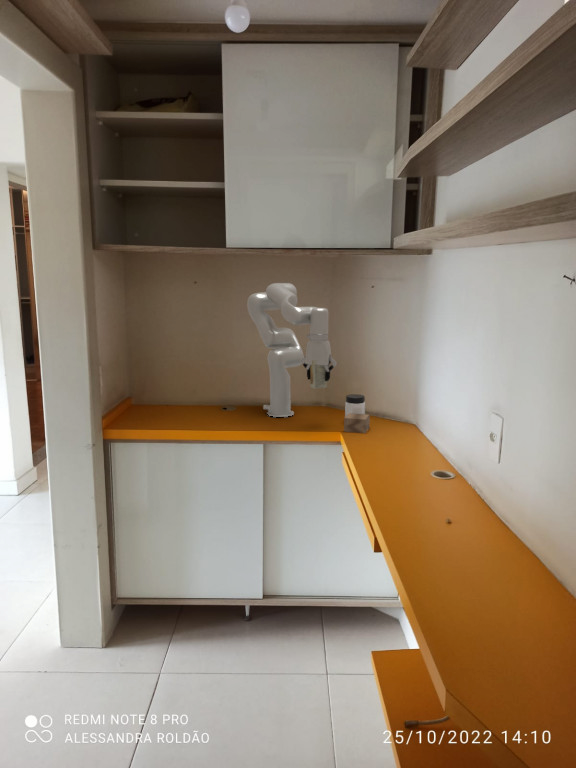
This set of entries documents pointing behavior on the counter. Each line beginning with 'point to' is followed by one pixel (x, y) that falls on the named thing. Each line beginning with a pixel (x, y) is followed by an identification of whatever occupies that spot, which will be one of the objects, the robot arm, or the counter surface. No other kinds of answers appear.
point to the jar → (355, 404)
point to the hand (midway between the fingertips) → (318, 379)
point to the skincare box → (317, 376)
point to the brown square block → (356, 423)
